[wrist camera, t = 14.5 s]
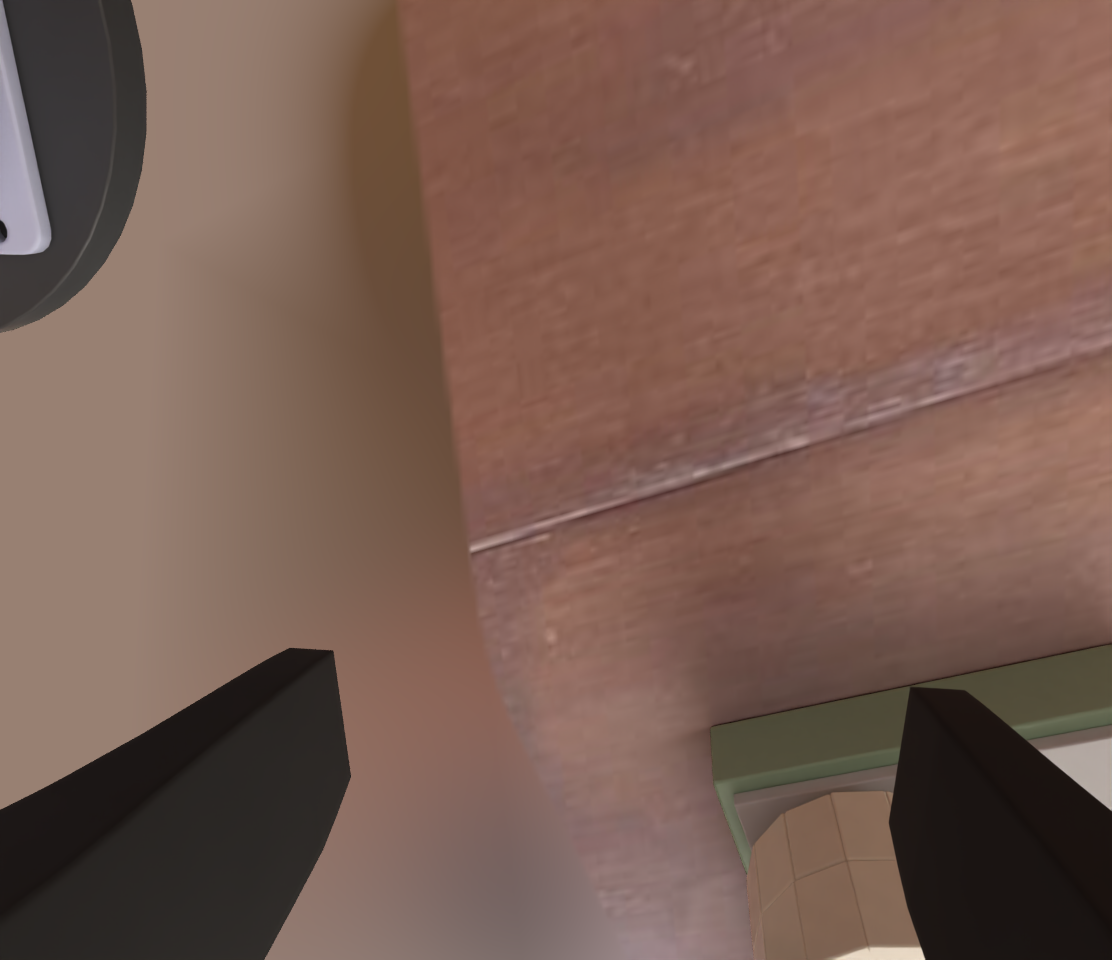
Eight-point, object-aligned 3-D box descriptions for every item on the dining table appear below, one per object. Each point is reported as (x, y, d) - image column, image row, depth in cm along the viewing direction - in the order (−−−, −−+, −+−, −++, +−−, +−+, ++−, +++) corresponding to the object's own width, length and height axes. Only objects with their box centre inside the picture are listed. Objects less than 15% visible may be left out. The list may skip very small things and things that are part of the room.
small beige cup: (704, 878, 20) (710, 1058, 16) (832, 735, 18) (878, 899, 14) (880, 975, 20) (931, 1177, 16) (1026, 844, 18) (1127, 1036, 14)
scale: (709, 726, 21) (712, 795, 19) (1131, 638, 19) (1198, 705, 16) (845, 1101, 26) (862, 1197, 23) (1205, 1072, 23) (1267, 1176, 21)
